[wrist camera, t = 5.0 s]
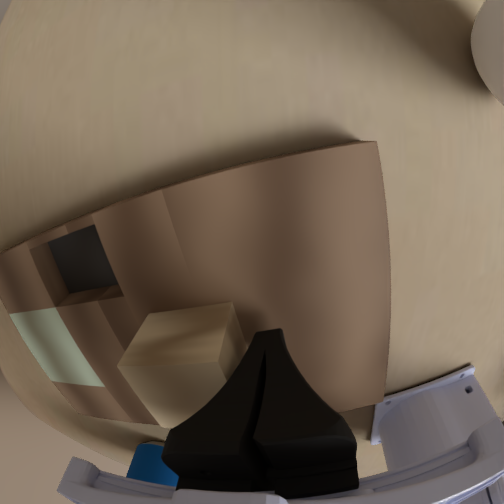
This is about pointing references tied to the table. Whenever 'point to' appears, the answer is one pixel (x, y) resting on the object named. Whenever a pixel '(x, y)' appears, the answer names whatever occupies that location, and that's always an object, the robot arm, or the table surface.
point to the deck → (218, 275)
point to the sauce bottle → (490, 46)
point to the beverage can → (151, 465)
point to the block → (183, 359)
